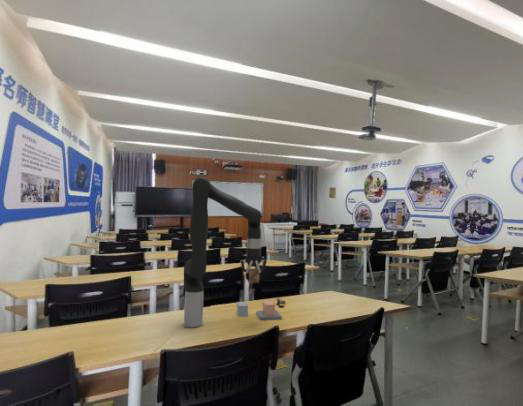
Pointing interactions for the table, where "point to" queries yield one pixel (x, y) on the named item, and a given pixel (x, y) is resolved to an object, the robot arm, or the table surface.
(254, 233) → the robot arm
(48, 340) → the table surface
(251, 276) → the brick walnut
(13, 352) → the table surface
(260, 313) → the baseplate
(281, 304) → the toy set
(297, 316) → the table surface
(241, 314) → the brick slate
